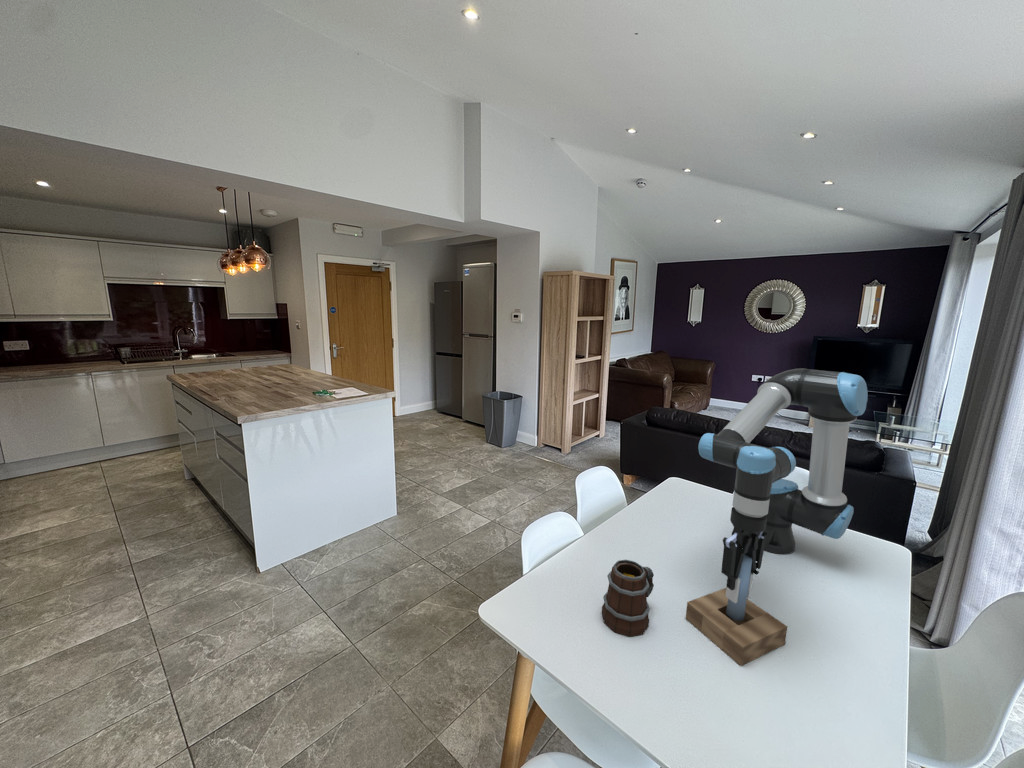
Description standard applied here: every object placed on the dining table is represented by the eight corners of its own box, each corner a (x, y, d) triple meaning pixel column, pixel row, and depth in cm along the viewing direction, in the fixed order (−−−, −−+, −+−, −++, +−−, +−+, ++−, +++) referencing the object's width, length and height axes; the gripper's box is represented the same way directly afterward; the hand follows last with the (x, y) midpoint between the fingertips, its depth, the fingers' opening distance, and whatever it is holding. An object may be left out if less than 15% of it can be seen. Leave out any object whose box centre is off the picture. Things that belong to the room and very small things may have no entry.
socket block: (727, 602, 115) (729, 586, 114) (784, 644, 101) (787, 626, 100) (685, 618, 108) (687, 602, 107) (740, 666, 94) (743, 647, 93)
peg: (733, 607, 106) (741, 551, 103) (747, 618, 103) (755, 560, 100) (722, 611, 105) (730, 554, 102) (736, 622, 101) (744, 563, 98)
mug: (627, 644, 100) (631, 589, 97) (592, 613, 110) (595, 562, 107) (668, 619, 108) (673, 568, 105) (632, 593, 118) (636, 545, 115)
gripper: (757, 498, 106) (746, 579, 110) (711, 509, 99) (701, 596, 103) (787, 511, 99) (774, 597, 103) (739, 524, 92) (727, 616, 96)
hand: (737, 596), depth 103 cm, fingers closed on peg, 4 cm apart
